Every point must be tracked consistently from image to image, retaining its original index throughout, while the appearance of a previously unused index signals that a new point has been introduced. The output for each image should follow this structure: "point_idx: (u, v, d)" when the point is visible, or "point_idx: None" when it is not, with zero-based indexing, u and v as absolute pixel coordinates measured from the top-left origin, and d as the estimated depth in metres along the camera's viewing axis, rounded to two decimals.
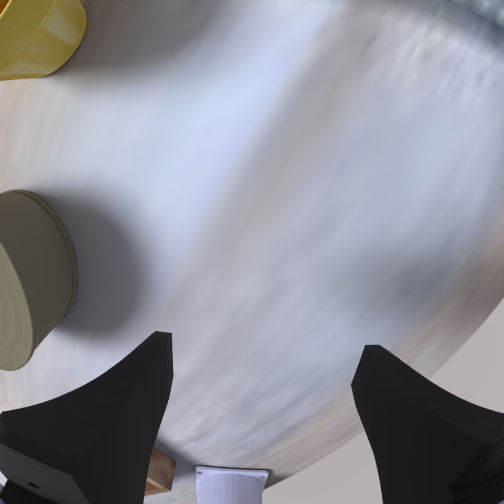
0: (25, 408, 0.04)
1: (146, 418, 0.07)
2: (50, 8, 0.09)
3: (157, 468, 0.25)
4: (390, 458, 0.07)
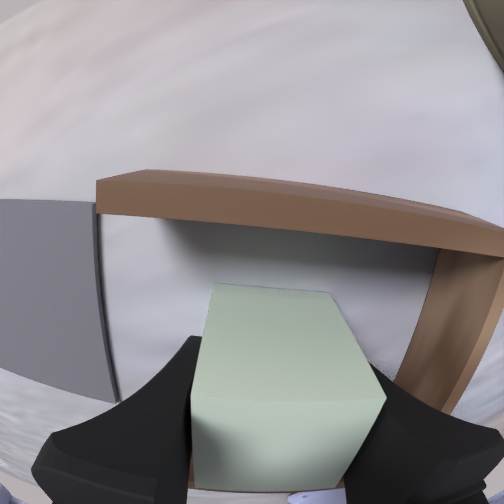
0: (76, 426, 0.04)
1: (190, 425, 0.08)
2: None
3: None
4: (354, 464, 0.07)
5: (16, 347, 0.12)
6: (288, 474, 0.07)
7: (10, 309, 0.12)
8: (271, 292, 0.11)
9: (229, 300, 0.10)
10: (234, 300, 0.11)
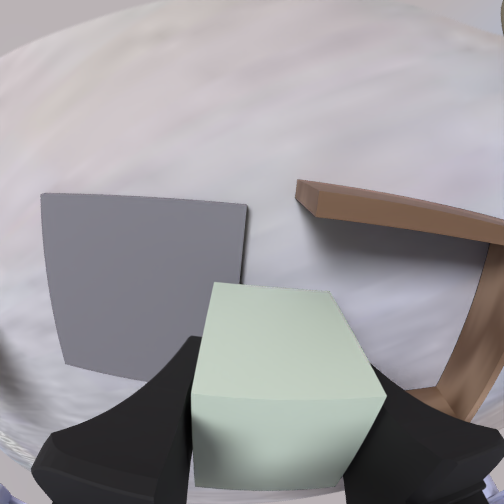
0: (76, 426, 0.04)
1: (190, 425, 0.08)
2: None
3: None
4: (354, 464, 0.07)
5: (120, 347, 0.15)
6: (288, 473, 0.07)
7: (122, 308, 0.14)
8: (271, 291, 0.11)
9: (229, 299, 0.10)
10: (234, 299, 0.11)
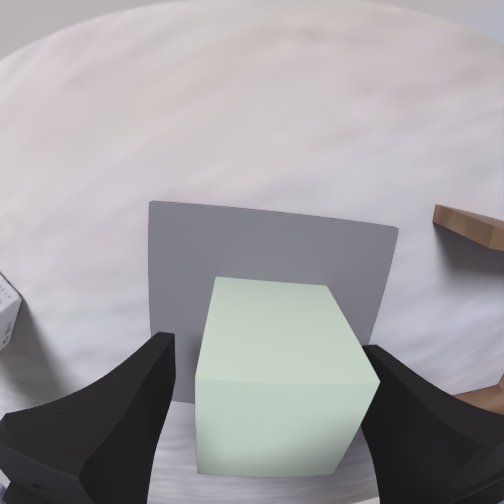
0: (29, 410, 0.04)
1: (149, 419, 0.07)
2: None
3: None
4: (387, 459, 0.07)
5: None
6: (287, 459, 0.08)
7: None
8: (270, 285, 0.12)
9: (230, 292, 0.11)
10: (235, 292, 0.11)
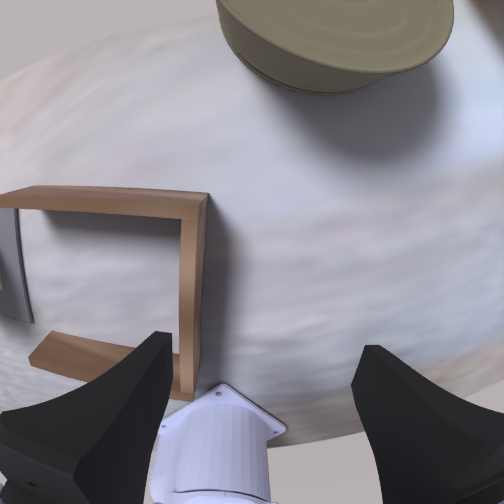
0: (25, 408, 0.04)
1: (146, 418, 0.07)
2: None
3: (196, 359, 0.19)
4: (390, 458, 0.07)
5: None
6: None
7: None
8: None
9: None
10: None
